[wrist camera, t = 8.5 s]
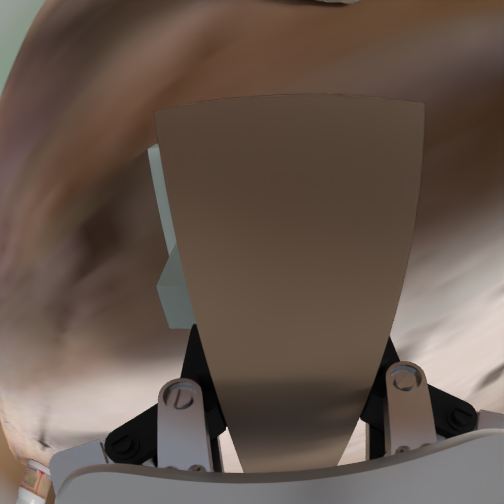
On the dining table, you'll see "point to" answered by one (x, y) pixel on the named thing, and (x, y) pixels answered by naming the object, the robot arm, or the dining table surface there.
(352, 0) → the antler
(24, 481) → the fruit juice
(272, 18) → the dining table surface
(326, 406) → the walnut bar
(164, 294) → the block
